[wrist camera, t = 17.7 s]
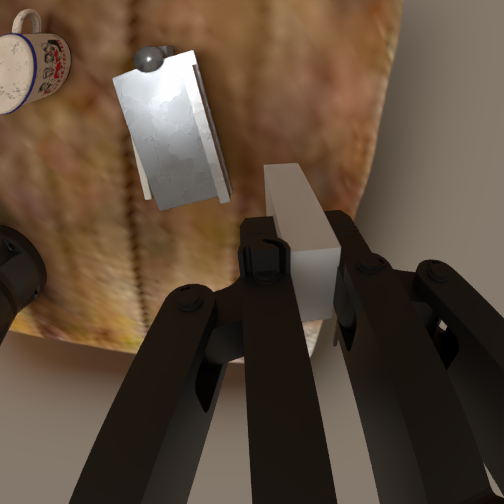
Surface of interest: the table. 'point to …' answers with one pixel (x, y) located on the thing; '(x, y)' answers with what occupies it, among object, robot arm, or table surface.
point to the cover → (173, 128)
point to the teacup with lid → (30, 64)
